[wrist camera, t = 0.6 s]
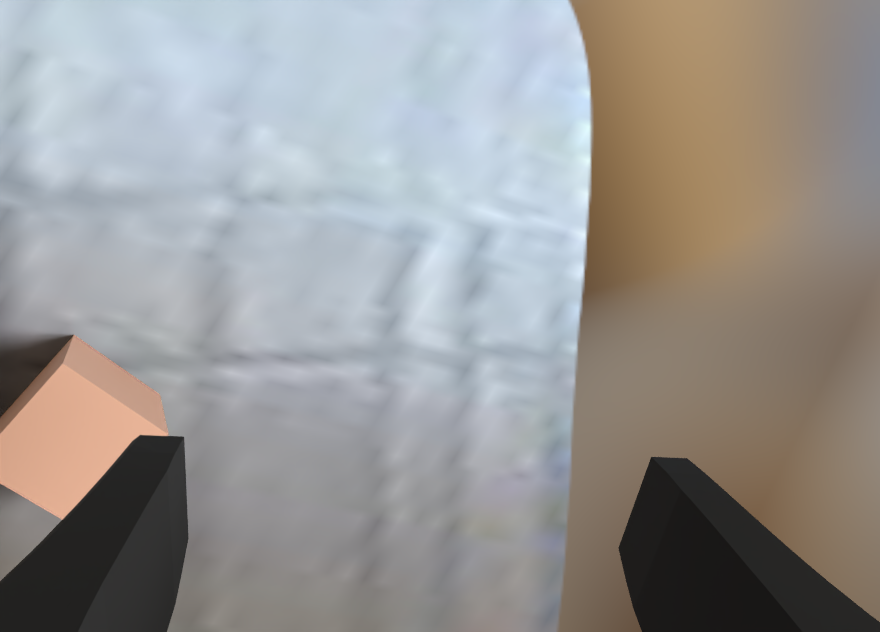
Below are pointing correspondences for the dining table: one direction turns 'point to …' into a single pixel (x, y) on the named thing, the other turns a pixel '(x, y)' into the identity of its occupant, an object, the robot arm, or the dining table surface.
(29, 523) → the dining table surface
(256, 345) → the dining table surface
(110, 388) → the pink block
